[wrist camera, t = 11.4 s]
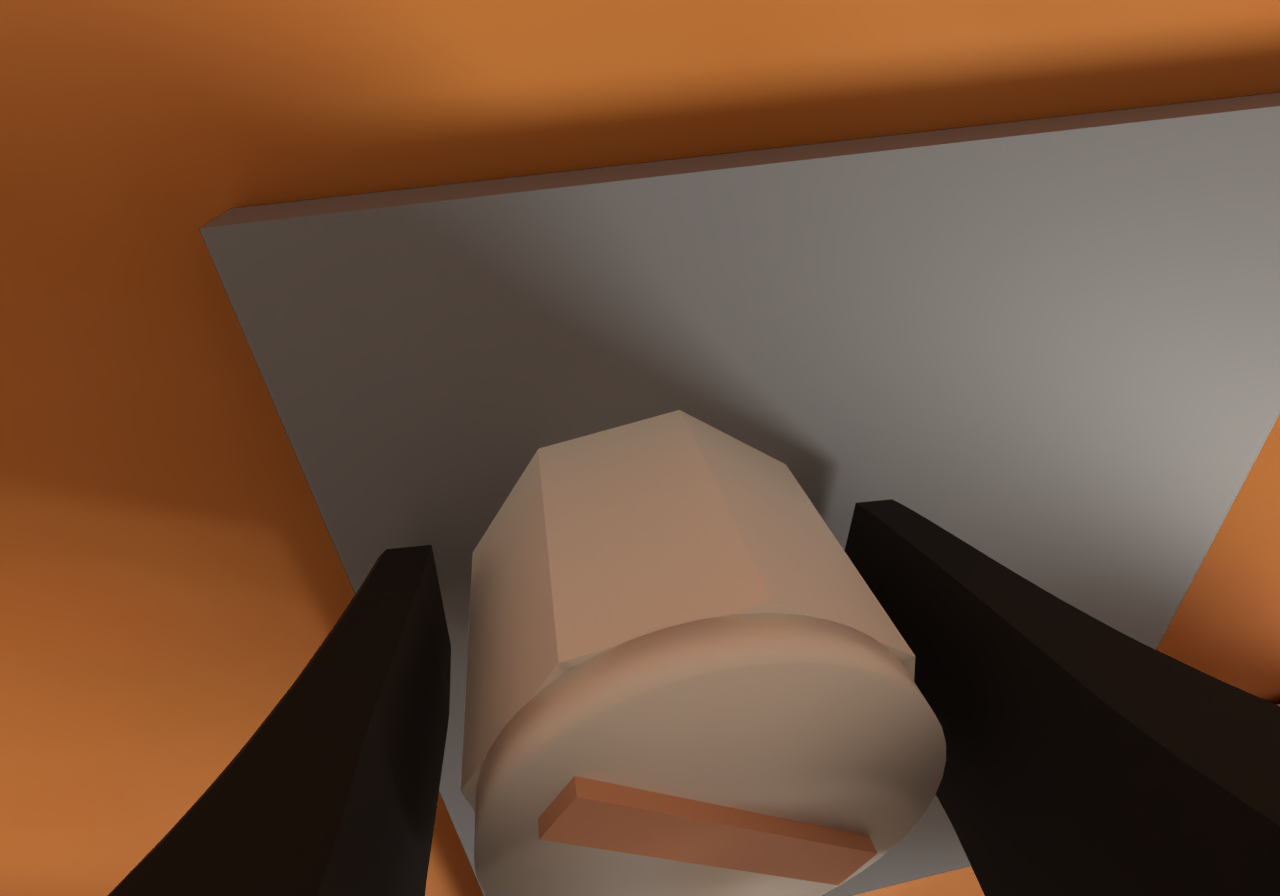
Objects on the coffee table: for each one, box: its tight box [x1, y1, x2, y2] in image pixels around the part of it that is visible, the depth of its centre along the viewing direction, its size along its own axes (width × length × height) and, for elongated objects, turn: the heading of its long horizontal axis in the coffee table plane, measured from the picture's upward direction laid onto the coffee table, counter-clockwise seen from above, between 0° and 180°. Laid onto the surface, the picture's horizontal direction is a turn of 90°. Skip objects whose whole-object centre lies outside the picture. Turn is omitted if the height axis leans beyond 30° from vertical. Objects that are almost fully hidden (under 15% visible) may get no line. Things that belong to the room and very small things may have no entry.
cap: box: [460, 410, 946, 896], centre depth 9 cm, size 5×5×5 cm
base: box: [199, 92, 1280, 896], centre depth 12 cm, size 20×16×4 cm
